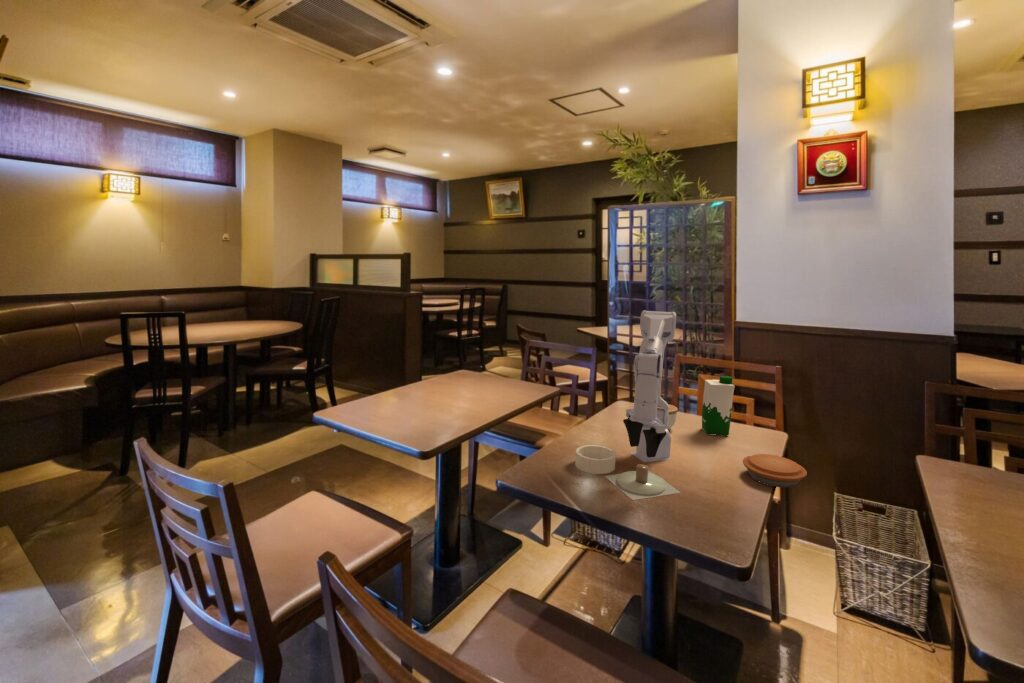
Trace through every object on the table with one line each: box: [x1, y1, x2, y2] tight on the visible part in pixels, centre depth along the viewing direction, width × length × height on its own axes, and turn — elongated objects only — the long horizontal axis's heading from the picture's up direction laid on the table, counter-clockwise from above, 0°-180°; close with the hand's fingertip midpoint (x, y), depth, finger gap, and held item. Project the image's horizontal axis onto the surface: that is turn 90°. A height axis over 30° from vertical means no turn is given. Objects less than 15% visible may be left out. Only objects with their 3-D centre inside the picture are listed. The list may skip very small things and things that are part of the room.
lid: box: [617, 463, 666, 495], centre depth 125 cm, size 12×12×5 cm
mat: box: [603, 469, 682, 501], centre depth 126 cm, size 14×14×1 cm
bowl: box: [574, 444, 616, 475], centre depth 136 cm, size 11×11×4 cm
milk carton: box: [701, 375, 736, 436], centre depth 167 cm, size 9×9×20 cm
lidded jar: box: [657, 404, 679, 431], centre depth 171 cm, size 11×11×9 cm
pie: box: [742, 453, 808, 488], centre depth 132 cm, size 15×16×5 cm
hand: (642, 451), depth 124 cm, fingers open, 7 cm apart
